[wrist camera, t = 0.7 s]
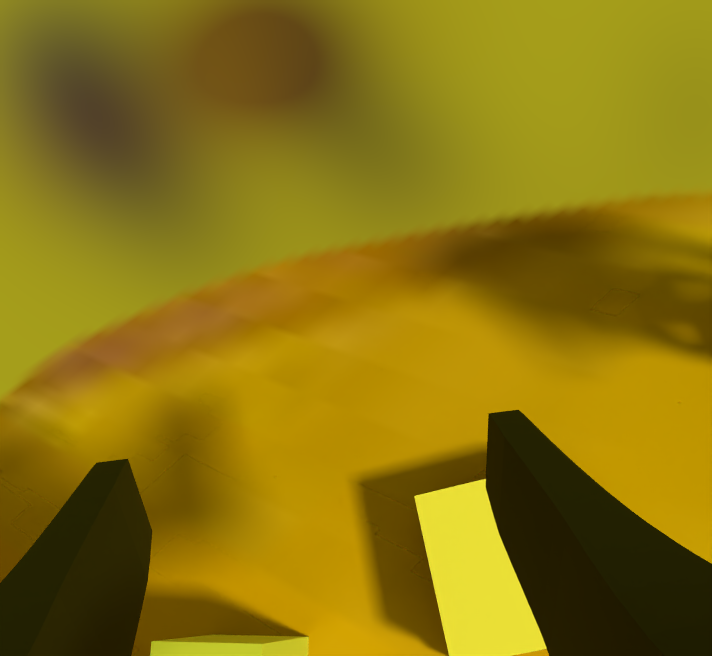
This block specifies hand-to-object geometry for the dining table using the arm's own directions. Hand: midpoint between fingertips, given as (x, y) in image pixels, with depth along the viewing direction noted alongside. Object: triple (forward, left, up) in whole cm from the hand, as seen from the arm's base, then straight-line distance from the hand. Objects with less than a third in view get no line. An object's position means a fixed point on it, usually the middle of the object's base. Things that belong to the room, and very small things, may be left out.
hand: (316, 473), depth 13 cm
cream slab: (-1, -3, -15) cm, 15 cm away
